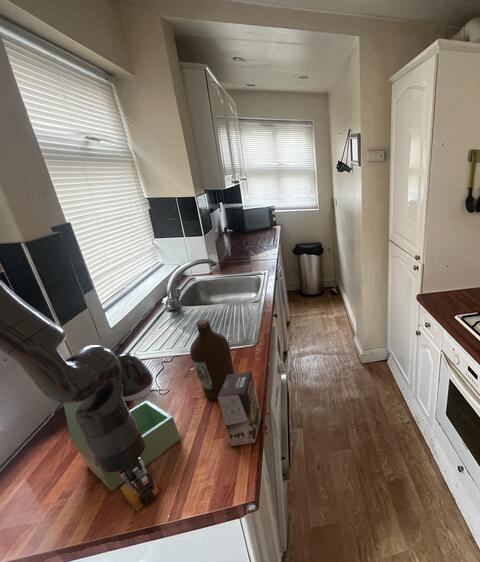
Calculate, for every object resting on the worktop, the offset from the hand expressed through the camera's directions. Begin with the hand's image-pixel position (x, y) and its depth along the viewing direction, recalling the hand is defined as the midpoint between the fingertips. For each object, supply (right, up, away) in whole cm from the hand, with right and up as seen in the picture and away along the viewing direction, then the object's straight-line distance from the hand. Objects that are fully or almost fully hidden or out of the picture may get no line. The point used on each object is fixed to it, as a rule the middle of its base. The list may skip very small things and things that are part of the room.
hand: (142, 495), depth 67 cm
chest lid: (-13, +17, 0) cm, 21 cm away
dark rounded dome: (-24, +11, +30) cm, 40 cm away
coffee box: (+16, +6, +16) cm, 24 cm away
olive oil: (+2, +12, +31) cm, 34 cm away
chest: (-10, +4, +11) cm, 15 cm away
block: (0, 0, 0) cm, 0 cm away
